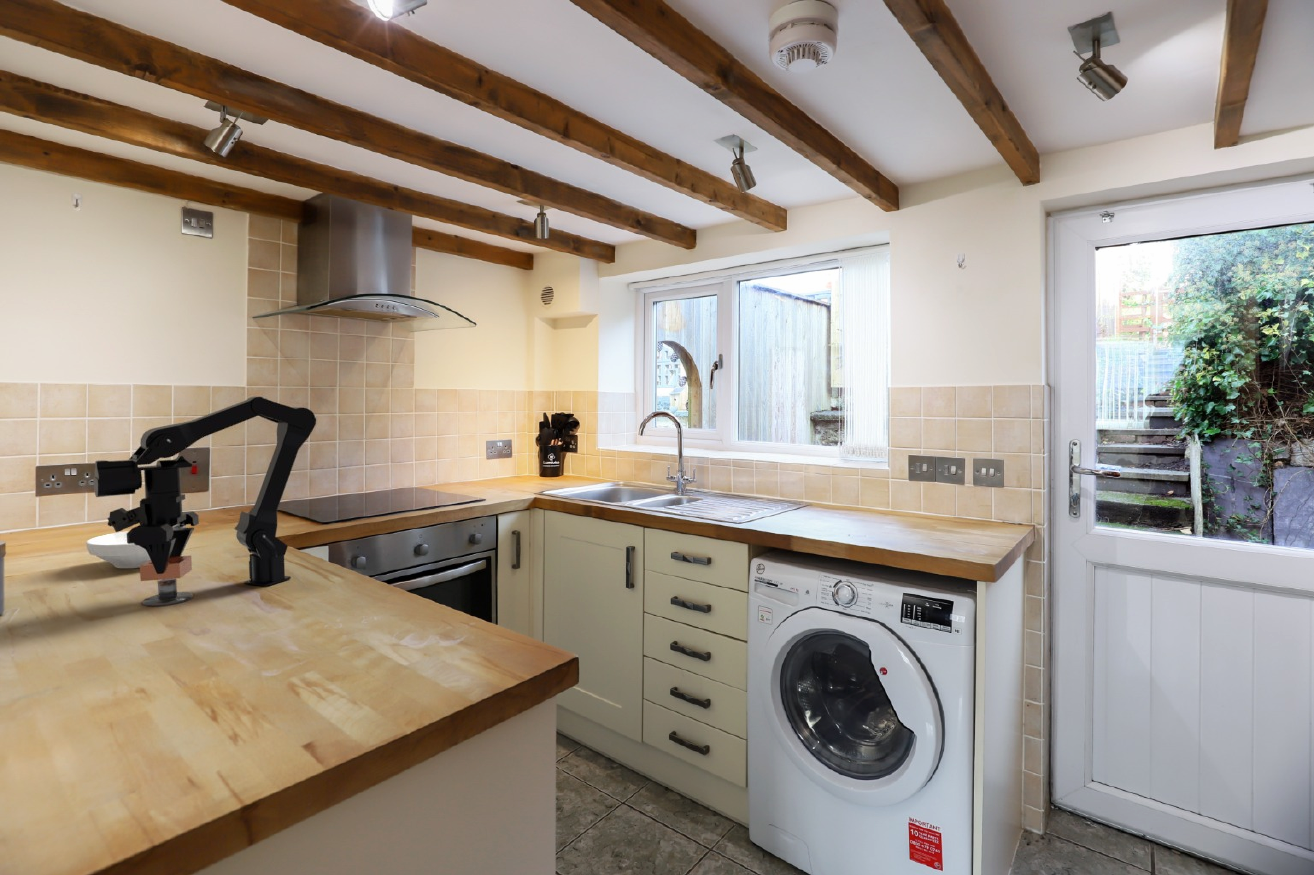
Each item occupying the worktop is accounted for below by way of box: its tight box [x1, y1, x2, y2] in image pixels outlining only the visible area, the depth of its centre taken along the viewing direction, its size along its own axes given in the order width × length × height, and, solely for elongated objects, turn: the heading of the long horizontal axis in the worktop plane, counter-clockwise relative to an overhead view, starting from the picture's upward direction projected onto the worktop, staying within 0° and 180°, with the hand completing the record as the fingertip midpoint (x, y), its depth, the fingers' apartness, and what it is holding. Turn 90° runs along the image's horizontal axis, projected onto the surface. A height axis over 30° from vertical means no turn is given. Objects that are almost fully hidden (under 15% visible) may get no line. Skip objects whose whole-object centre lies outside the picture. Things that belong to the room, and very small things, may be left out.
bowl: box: [85, 530, 151, 569], centre depth 159 cm, size 20×20×7 cm
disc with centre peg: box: [142, 578, 194, 607], centre depth 131 cm, size 8×8×4 cm
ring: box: [139, 555, 193, 582], centre depth 131 cm, size 6×6×3 cm
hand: (167, 569), depth 131 cm, fingers closed on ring, 6 cm apart
